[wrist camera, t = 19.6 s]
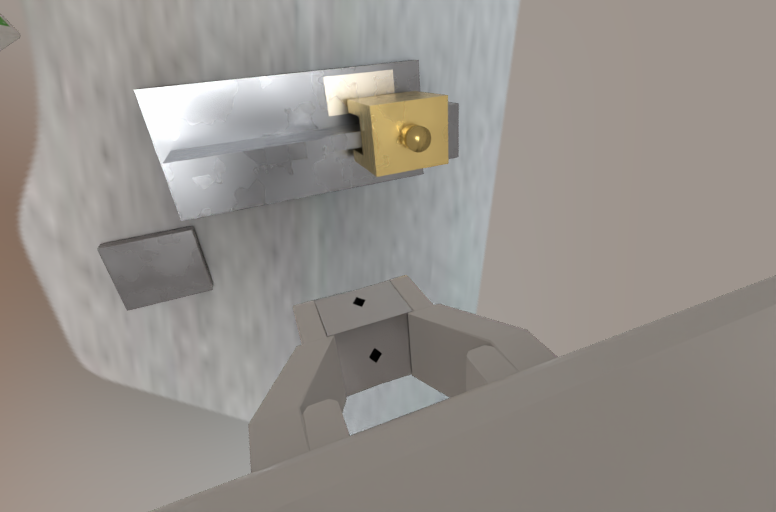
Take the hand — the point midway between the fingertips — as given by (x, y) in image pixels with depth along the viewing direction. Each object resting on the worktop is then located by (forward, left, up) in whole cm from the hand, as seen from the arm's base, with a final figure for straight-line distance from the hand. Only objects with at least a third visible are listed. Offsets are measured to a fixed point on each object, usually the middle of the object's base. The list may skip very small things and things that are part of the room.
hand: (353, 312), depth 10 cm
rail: (0, -3, -27) cm, 27 cm away
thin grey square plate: (-9, +11, -27) cm, 31 cm away
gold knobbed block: (0, -10, -25) cm, 27 cm away
